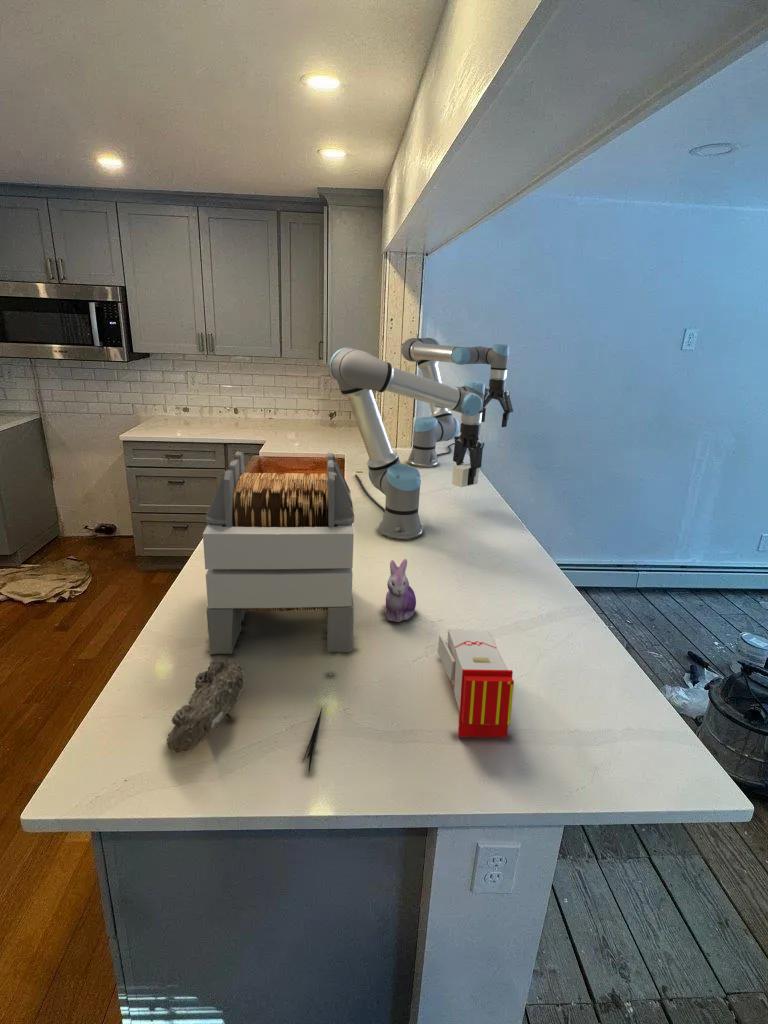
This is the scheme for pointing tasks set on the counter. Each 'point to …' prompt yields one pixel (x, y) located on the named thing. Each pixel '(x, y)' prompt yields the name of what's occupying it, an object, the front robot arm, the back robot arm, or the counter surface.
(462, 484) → the brick
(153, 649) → the counter surface
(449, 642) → the toy
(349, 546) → the record crate
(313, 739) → the feather
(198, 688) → the grey long lumpy piece
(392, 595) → the figurine
